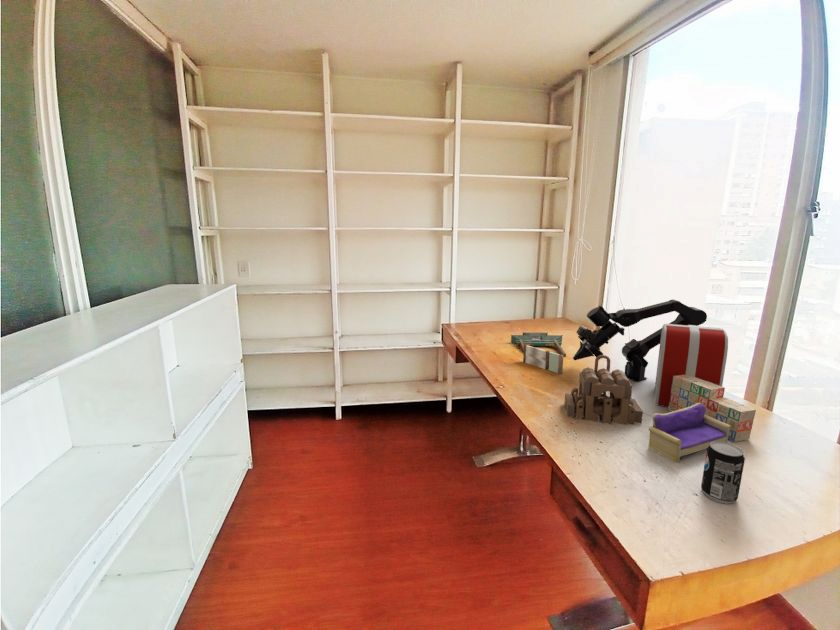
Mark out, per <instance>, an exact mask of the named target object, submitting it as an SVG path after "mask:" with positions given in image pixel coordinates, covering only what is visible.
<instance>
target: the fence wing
mask: <svg viewBox="0 0 840 630" xmlns="http://www.w3.org/2000/svg"><path fill="white" fill-rule="evenodd" d="M563 368H564V357H563V355H560V353H555V352H553V351H550V355H549V370H548V371H550V372H554V373H556V374H558V375H563V371H564V369H563Z"/></svg>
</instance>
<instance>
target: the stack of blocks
mask: <svg viewBox="0 0 840 630" xmlns="http://www.w3.org/2000/svg"><path fill="white" fill-rule="evenodd" d="M725 389H726V388H725V387H724V386H723V385H722V386H719V385H716V384H713V383H711V382H708V381H705V380H702V379H699V378H696V377H693V376H687V375H677V376H673V383H672V388H671V396H670V402H669V407H668V411H669V412H673V411H677V410H680V409H684V408H687V407H690V406H693V405H694V404H696V403H701V404H703V405H704V406H705V407H706V412H705V414H704V415H706V416H709V417H711V418H714V419H716V420H718V421H721V422H723V423H726V424H728V425H730V426H731V430H730V431H729V435H728V440H730V441H731V442H740V441H741V442H742V441H746V440H750V438H751V434H752V433H751V432H752V429H753V425H754V420H755V416H756V413H757V412H756V411H757V409H756V408H753V407H750V406H747V405H745V404H743V403H740V402H737V401H734V400H733V399H730V398H727V397H724V396H725V395H724V394H725Z"/></svg>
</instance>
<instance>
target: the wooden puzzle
mask: <svg viewBox="0 0 840 630" xmlns="http://www.w3.org/2000/svg"><path fill="white" fill-rule="evenodd" d="M600 358H601V359H605V360H606V368H604V367H603V368H600V369H598V367H599V361H600V360H601V359H600ZM599 359H600V360H599ZM610 371H611V358H610V357H609V356H607V354H606V355H604V354H603V355H599V356H597V357H596V356H595V359H594V368H592V367H586V368H583V369H582V371H579V374H578V375H579V379H578V386H575V387H572V389H571V391H570V393H565V394H564V407H565V408H566V416H567V417H568V418H575V420H576V419H579V420H583V419H584V421H588V422H598V423H599V422H600V416H601V415H602V416H601V422H602V424H608V425H611V423H612V424H616V425H617V424H618V425H626V426H627V425H634V426H635V424H642V421H643V414H644V412H643V409H642V408H641V406H640V405H639V403H638V402H637V401H636V399H635V398H632V393H633V392H632V391H633V385H632V383H631V381H630V379H628V378H627V377H626V376H625V374H624V373H625V371H623V370H620V369H614V370H612V371H611V372H610ZM607 392H609V395H607Z"/></svg>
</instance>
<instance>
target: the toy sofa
mask: <svg viewBox="0 0 840 630" xmlns="http://www.w3.org/2000/svg"><path fill="white" fill-rule="evenodd" d="M705 412H706V407H705V406H704V405H703V404H701V403H696V404H694V405H693V406H690V407H687V408H684V409H680V410H677V411H673V412H671V411H669V412H666V413H654V414H653V415H652V425H650V426H649V427H648V432H649V437H648V438H649V440H648V448H649V449H651V450H653V451H654V452H656V453H658V454H660V455H661V456H664V457H666V458H667V459H669V460H670V461H672V462H674V463H676V464H678V463H680V458H681V457H683V456H686V455H691V454H693V453H696V452H699V451H703V450H705V449H706V450H707V448H708V447H709V446H710V443H711V442H714V441H721V442H726V443H729V442H728V440H729V439H728V435H729V431H730V430H731V426H730V425H728V424H726V423H723V422H721V421H718V420H716V419H714V418H711V417H709V416H706V415H704V414H705Z"/></svg>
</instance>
